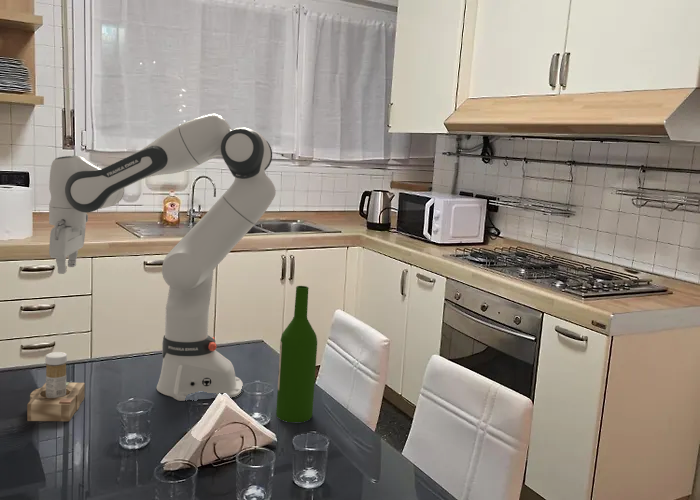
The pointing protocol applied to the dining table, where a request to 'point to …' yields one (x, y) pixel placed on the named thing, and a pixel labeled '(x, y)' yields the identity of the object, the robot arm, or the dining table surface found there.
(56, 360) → the sprinkles bottle
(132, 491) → the dining table surface
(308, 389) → the wine bottle
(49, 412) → the socket block
